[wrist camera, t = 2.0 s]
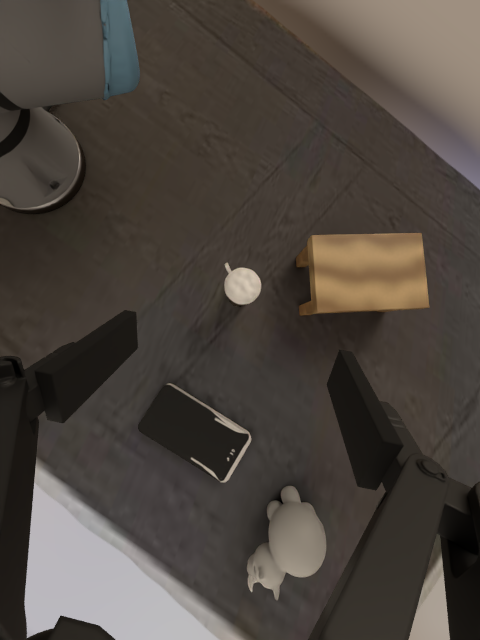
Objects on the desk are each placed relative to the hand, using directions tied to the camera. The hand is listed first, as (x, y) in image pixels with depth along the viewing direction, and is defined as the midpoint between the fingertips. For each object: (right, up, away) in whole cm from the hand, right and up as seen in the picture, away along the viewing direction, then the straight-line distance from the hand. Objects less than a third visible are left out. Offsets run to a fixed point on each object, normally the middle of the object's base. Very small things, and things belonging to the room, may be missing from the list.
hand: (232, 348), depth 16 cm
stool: (+17, +8, +24) cm, 30 cm away
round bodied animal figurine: (+6, -28, +21) cm, 35 cm away
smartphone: (-6, -15, +21) cm, 26 cm away
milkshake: (0, +6, +23) cm, 23 cm away
